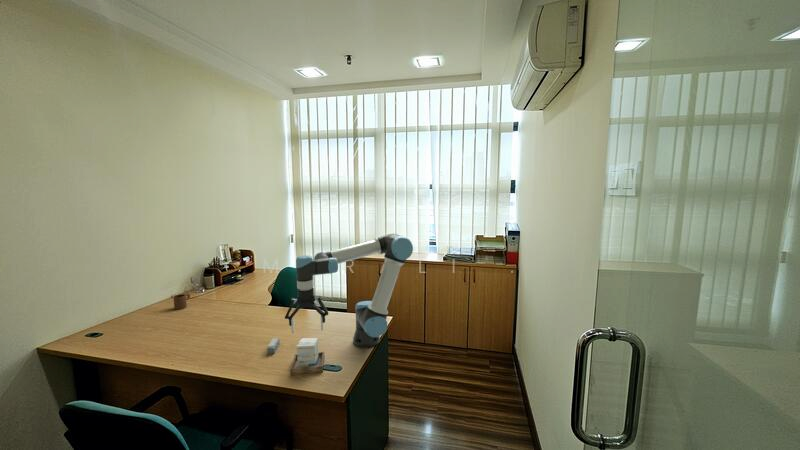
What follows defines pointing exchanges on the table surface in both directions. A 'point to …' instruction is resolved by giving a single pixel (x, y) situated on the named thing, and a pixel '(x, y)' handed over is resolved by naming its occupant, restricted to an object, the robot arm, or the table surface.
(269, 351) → the grey rectangular block
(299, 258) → the robot arm
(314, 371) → the tray
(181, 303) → the mug
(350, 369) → the table surface
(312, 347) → the ink box
